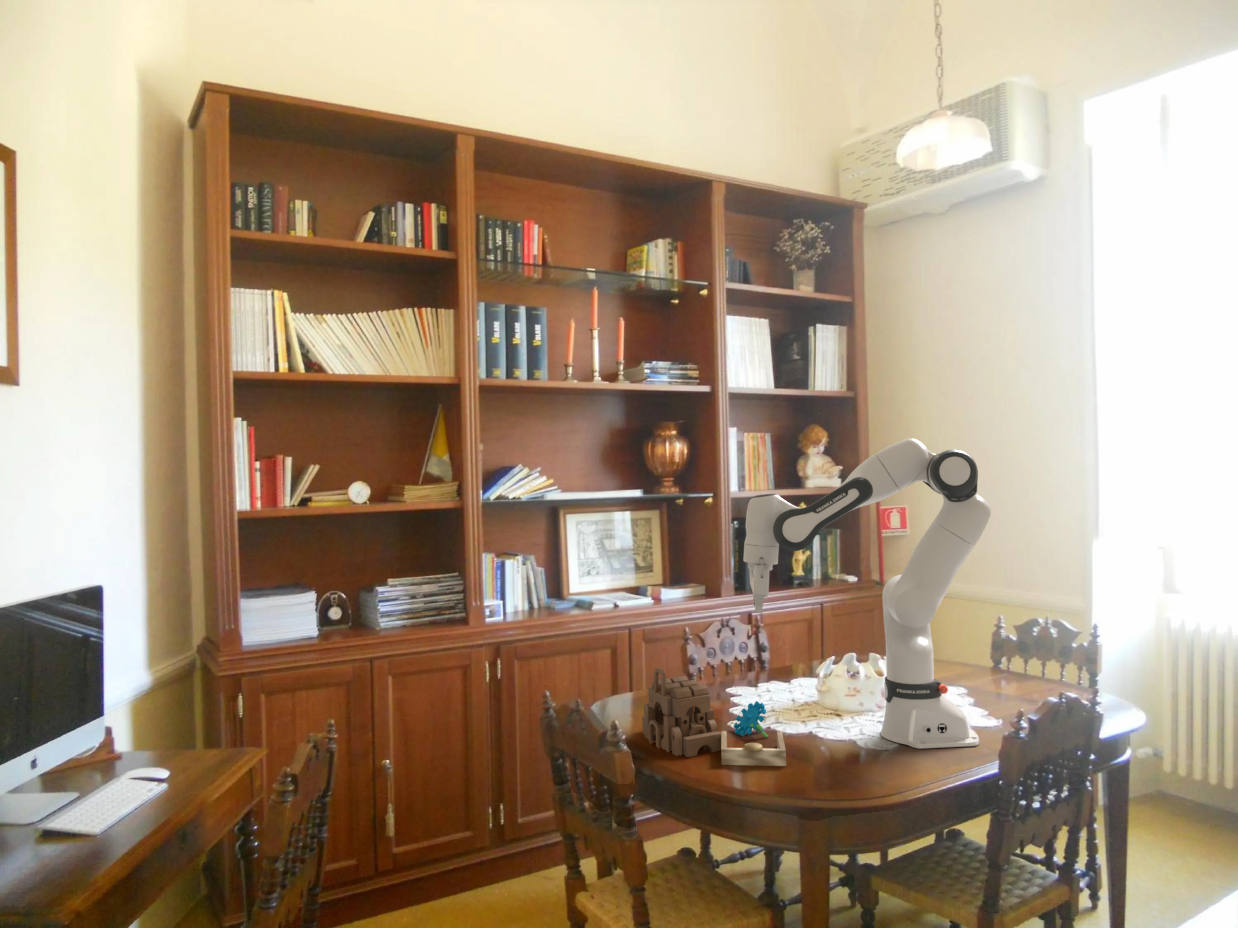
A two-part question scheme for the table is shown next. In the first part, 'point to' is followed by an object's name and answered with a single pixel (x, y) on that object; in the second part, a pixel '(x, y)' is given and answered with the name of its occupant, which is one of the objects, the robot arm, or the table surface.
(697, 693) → the wooden puzzle
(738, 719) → the gear
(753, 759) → the drawer
